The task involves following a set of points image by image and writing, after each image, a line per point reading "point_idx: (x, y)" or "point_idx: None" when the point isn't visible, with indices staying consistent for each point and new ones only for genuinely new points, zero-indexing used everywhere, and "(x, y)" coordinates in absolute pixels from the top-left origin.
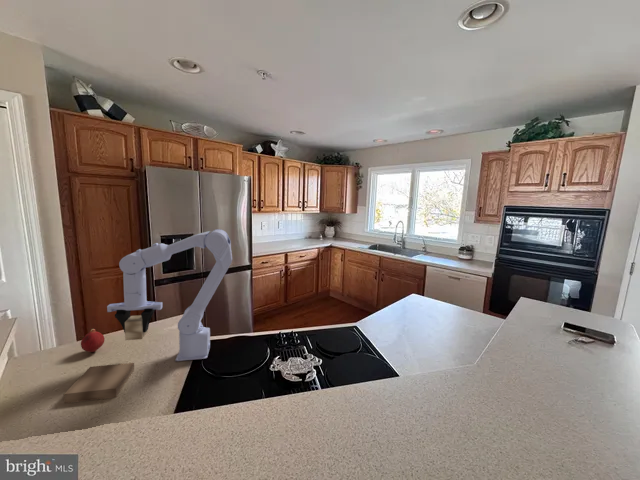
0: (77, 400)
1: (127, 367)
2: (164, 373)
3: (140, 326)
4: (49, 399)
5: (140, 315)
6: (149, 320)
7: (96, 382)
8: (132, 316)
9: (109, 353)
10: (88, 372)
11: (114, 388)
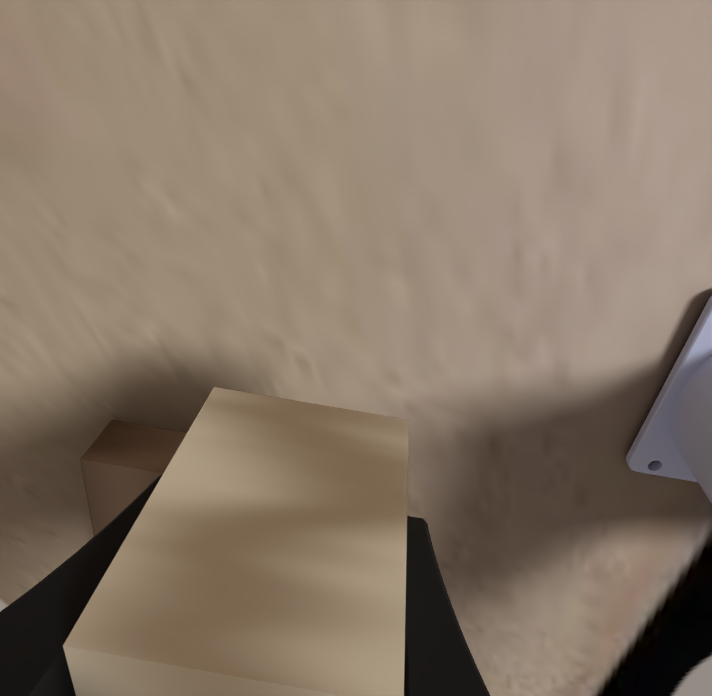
0: None
1: None
2: (541, 542)
3: None
4: (49, 538)
5: (260, 679)
6: (457, 659)
7: None
8: (110, 677)
9: (72, 166)
10: (111, 510)
11: None
